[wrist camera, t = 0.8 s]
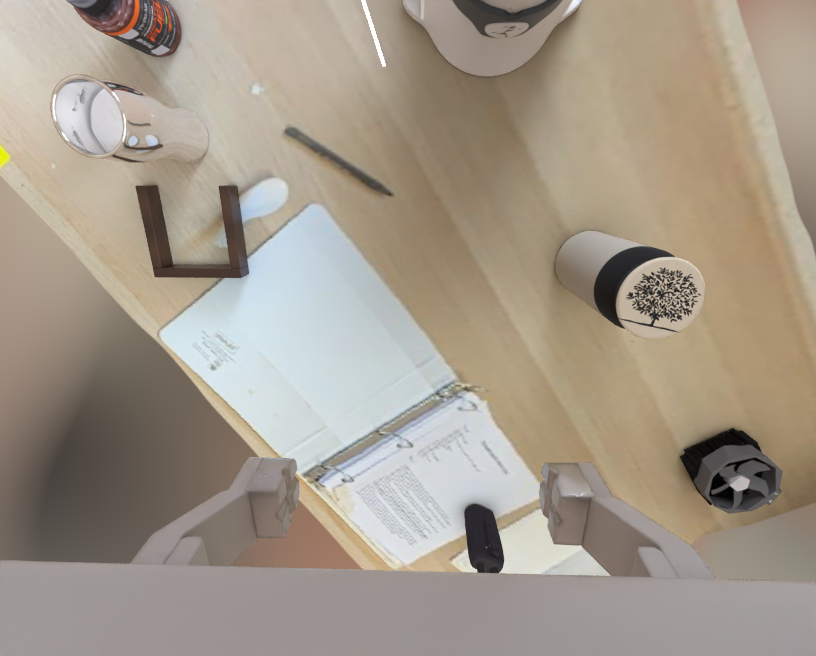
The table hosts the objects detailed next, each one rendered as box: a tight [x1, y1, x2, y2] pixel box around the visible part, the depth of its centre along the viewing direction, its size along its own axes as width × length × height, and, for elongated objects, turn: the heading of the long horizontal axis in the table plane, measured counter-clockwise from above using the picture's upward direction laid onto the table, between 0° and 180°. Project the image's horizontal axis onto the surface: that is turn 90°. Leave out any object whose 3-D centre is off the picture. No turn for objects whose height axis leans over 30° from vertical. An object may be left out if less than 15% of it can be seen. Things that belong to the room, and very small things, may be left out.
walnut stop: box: [136, 186, 249, 278], centre depth 52 cm, size 11×11×2 cm
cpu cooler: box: [681, 428, 782, 513], centre depth 59 cm, size 10×6×10 cm
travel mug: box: [555, 231, 705, 339], centre depth 44 cm, size 8×8×18 cm
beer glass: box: [51, 74, 209, 163], centre depth 42 cm, size 7×7×15 cm
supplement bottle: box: [66, 0, 181, 57], centre depth 40 cm, size 6×6×11 cm
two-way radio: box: [465, 505, 504, 573], centre depth 60 cm, size 6×4×15 cm
